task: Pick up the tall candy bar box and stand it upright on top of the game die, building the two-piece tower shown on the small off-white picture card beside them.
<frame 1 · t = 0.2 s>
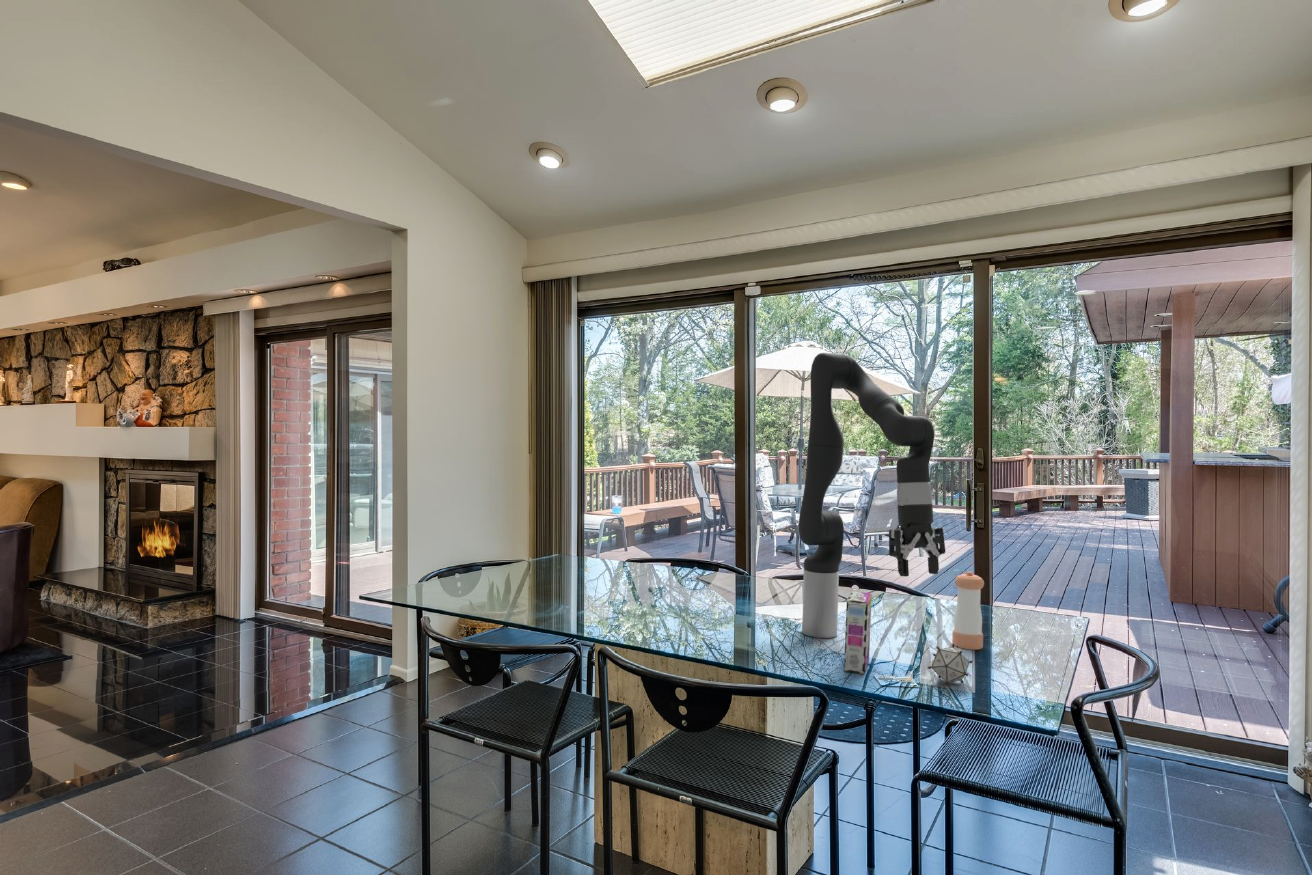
hand: (918, 574, 163), 23 cm above the table, tool pointing down, fingers open, 8 cm apart
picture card: (895, 681, 158), on the table
pepper shaker: (967, 646, 187), on the table
game die: (949, 683, 159), on the table
candy bar box: (857, 666, 169), on the table
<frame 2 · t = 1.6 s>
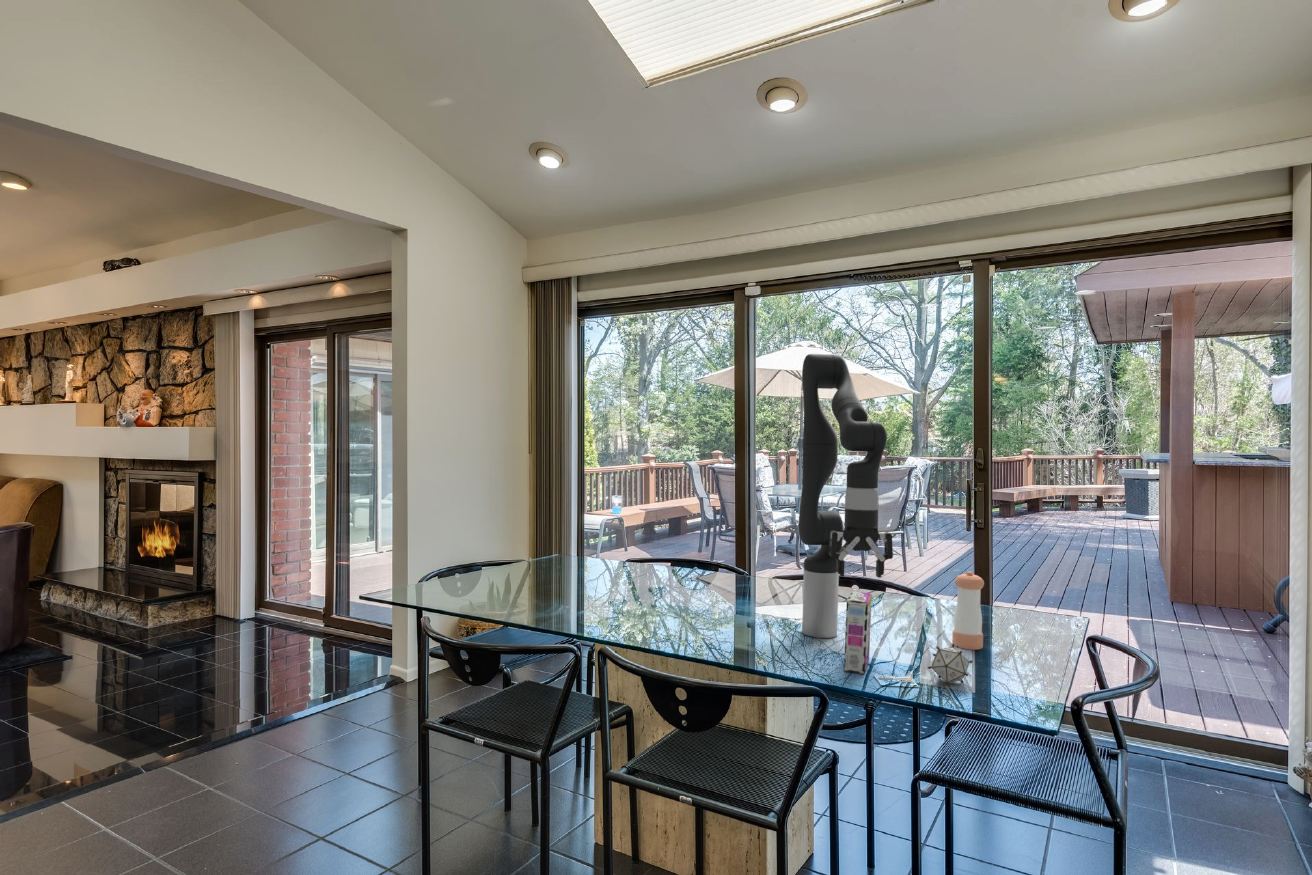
hand: (859, 576, 168), 21 cm above the table, tool pointing down, fingers open, 8 cm apart
nothing on the table moved.
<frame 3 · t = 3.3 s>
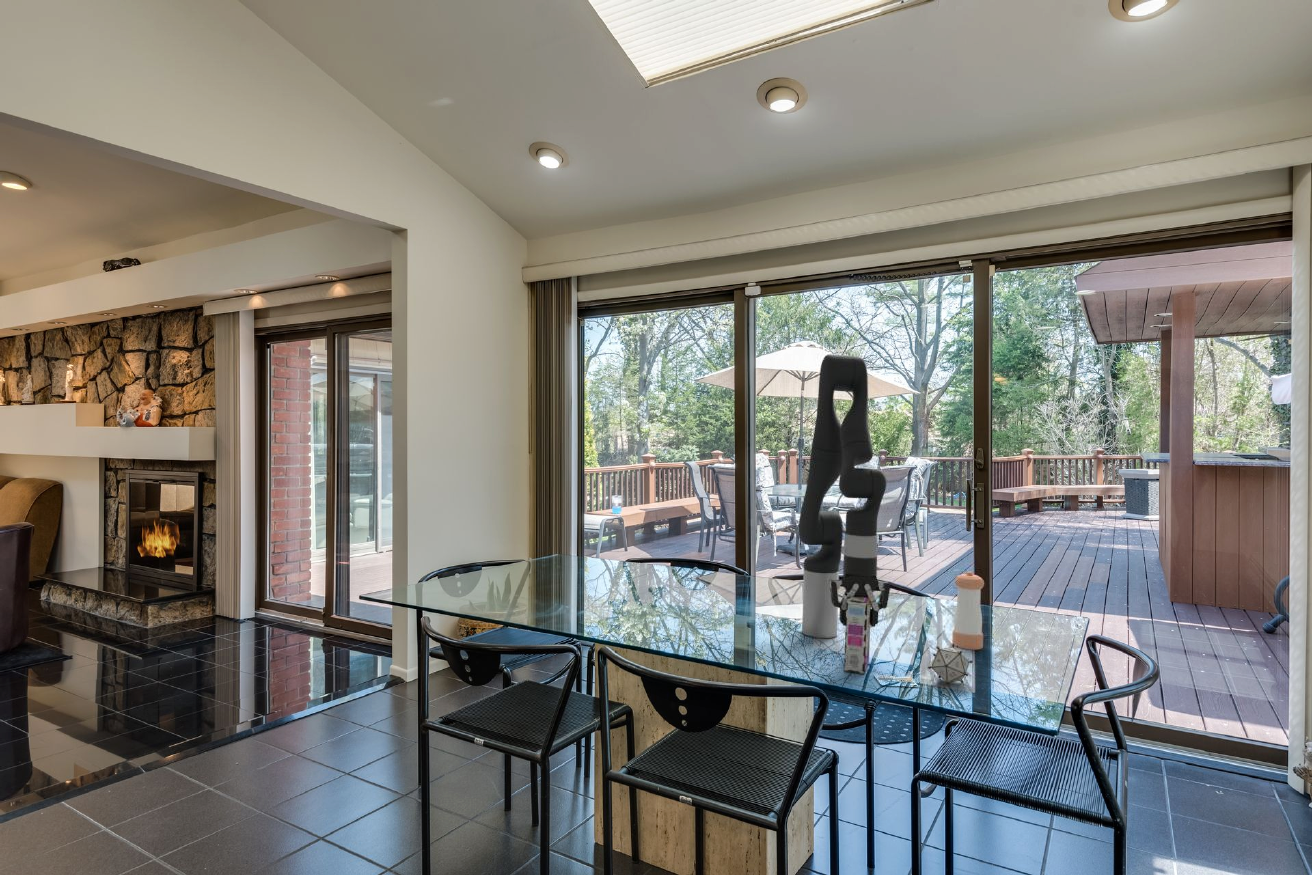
hand: (858, 625, 169), 10 cm above the table, tool pointing down, fingers closed on candy bar box, 6 cm apart
candy bar box: (857, 666, 169), on the table, touching gripper
everything else where it was.
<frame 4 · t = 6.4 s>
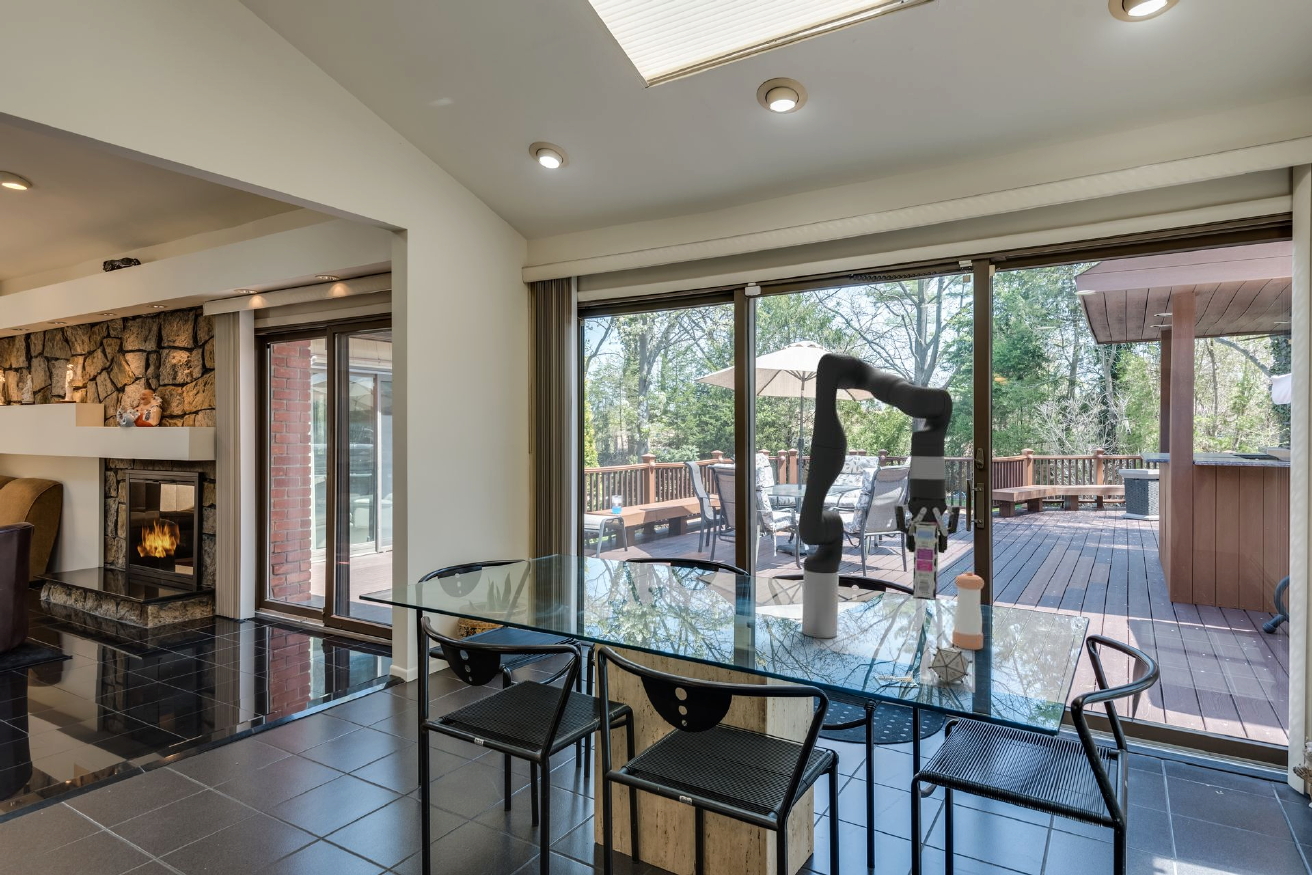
hand: (926, 551, 161), 28 cm above the table, tool pointing down, fingers closed on candy bar box, 6 cm apart
candy bar box: (925, 595, 161), point 19 cm above the table, touching gripper
everything else where it was.
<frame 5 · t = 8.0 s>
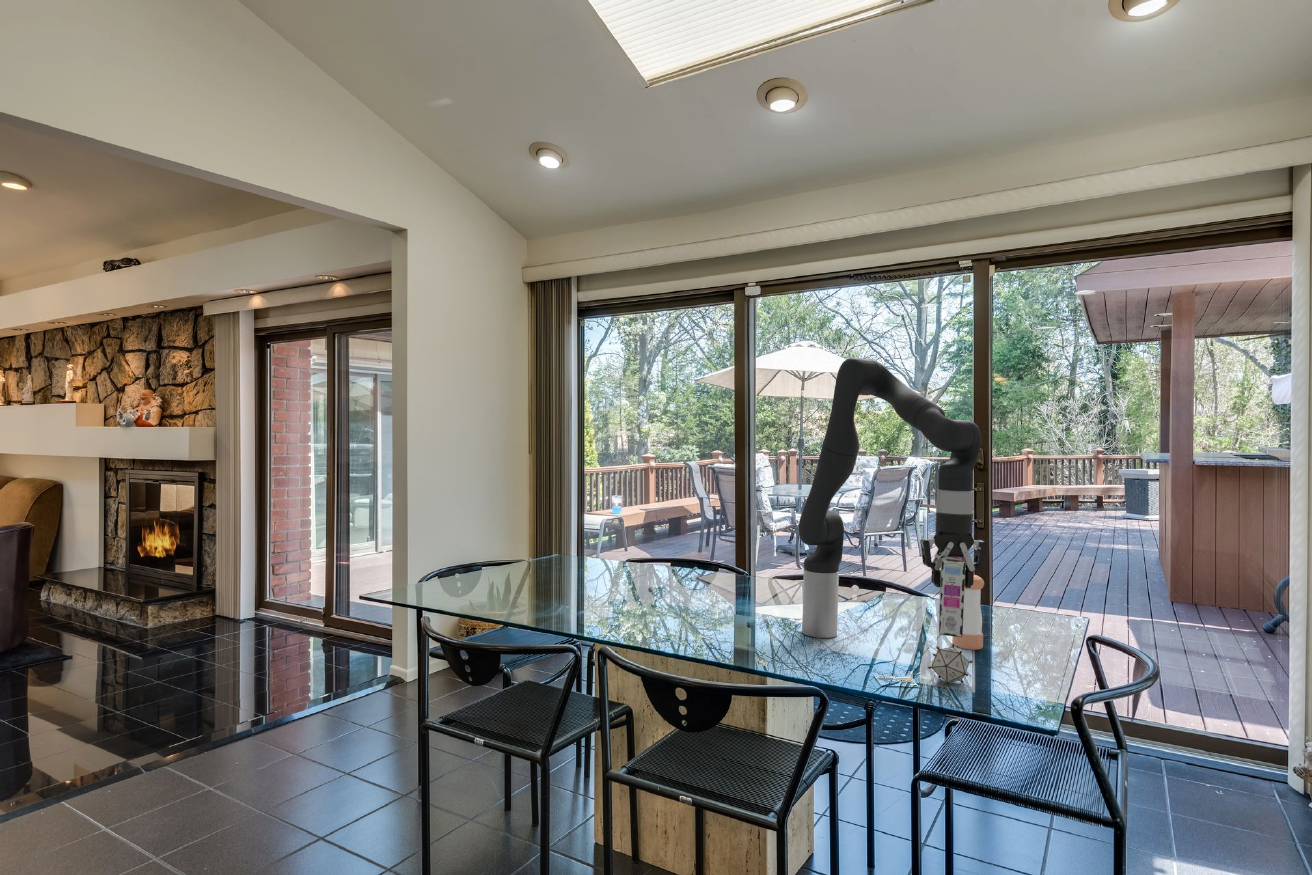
hand: (952, 586, 159), 21 cm above the table, tool pointing down, fingers closed on candy bar box, 6 cm apart
candy bar box: (950, 631, 159), point 11 cm above the table, touching gripper
everything else where it was.
when the fingers open (19 cm above the table, at t = 9.4 s): candy bar box drops 1 cm, resting on game die.
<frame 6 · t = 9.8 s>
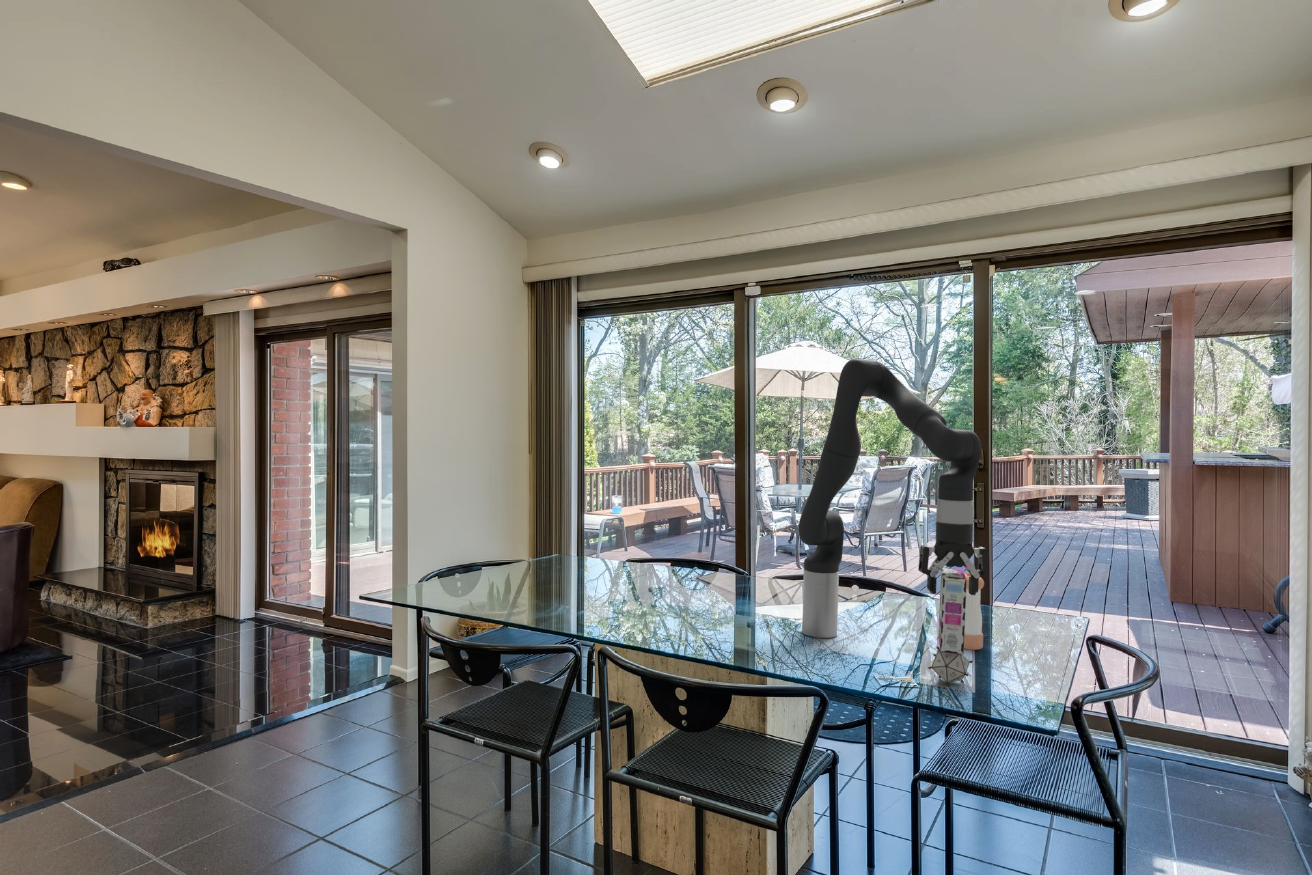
hand: (952, 593, 159), 20 cm above the table, tool pointing down, fingers open, 8 cm apart
game die: (949, 683, 159), on the table, touching candy bar box
candy bar box: (951, 647, 159), point 8 cm above the table, touching game die
everything else where it was.
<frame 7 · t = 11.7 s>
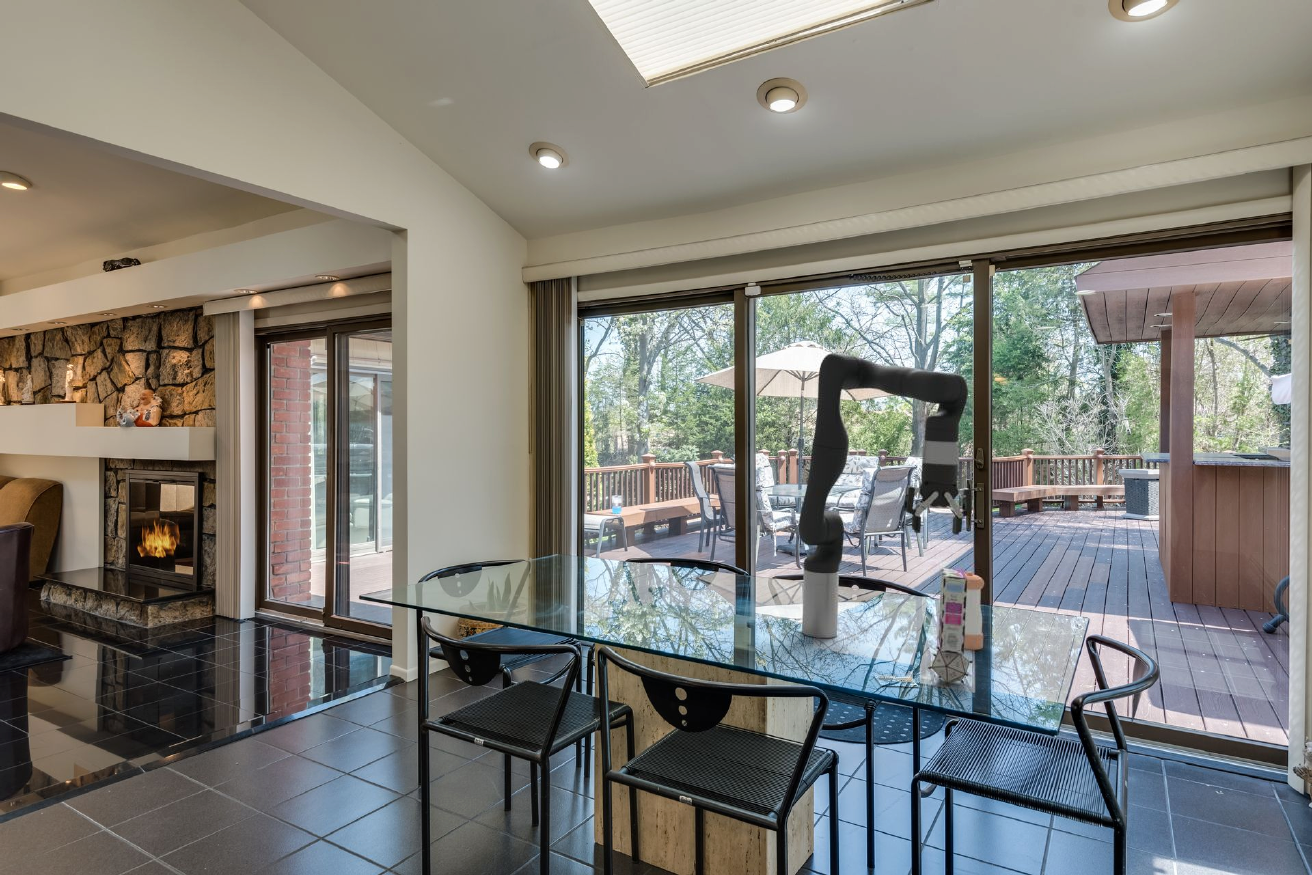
hand: (936, 533, 163), 32 cm above the table, tool pointing down, fingers open, 8 cm apart
nothing on the table moved.
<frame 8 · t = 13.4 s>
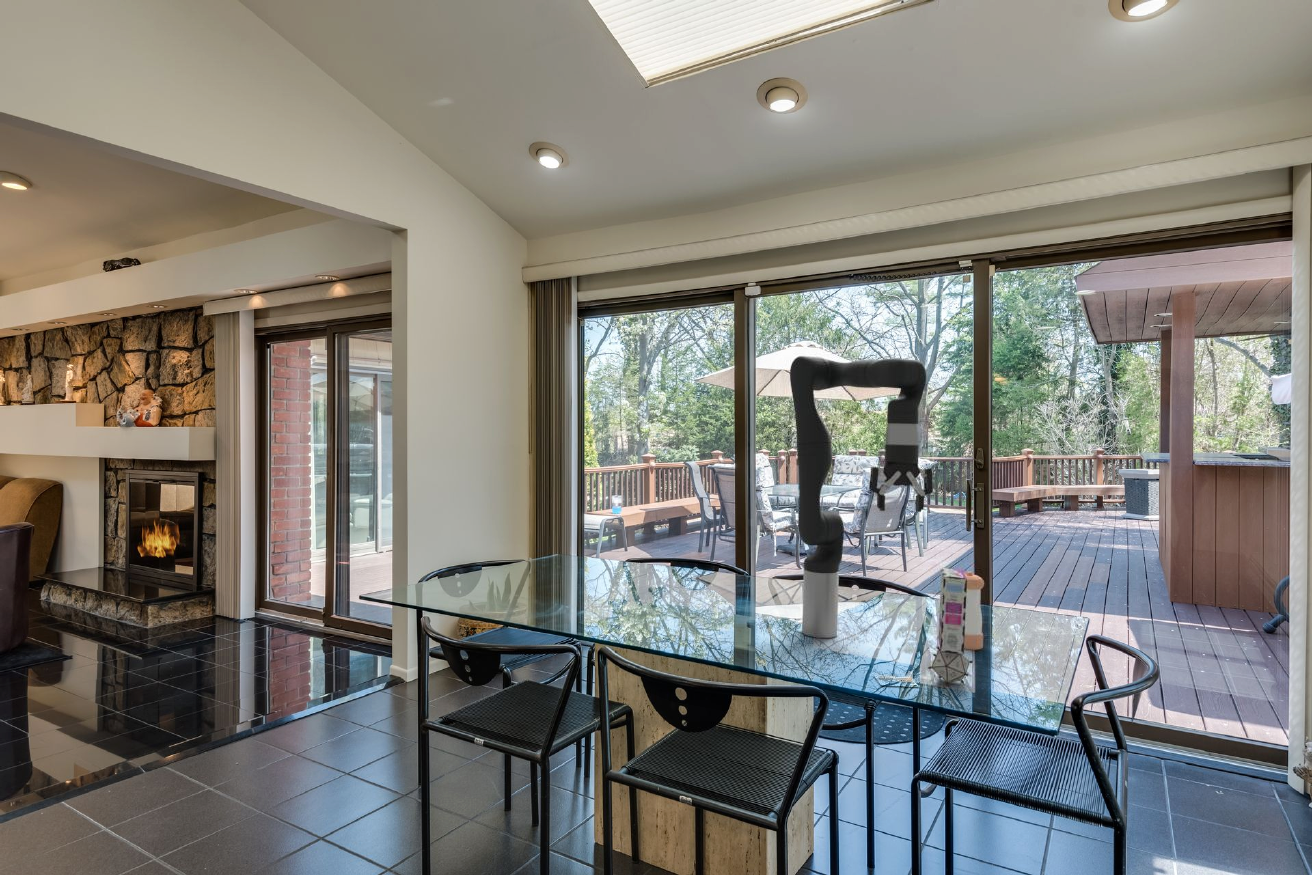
hand: (900, 511, 172), 36 cm above the table, tool pointing down, fingers open, 8 cm apart
nothing on the table moved.
at the end: candy bar box 0.1 cm from the game die (horizontally); candy bar box point 7.7 cm above the table; candy bar box tilted 0° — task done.
